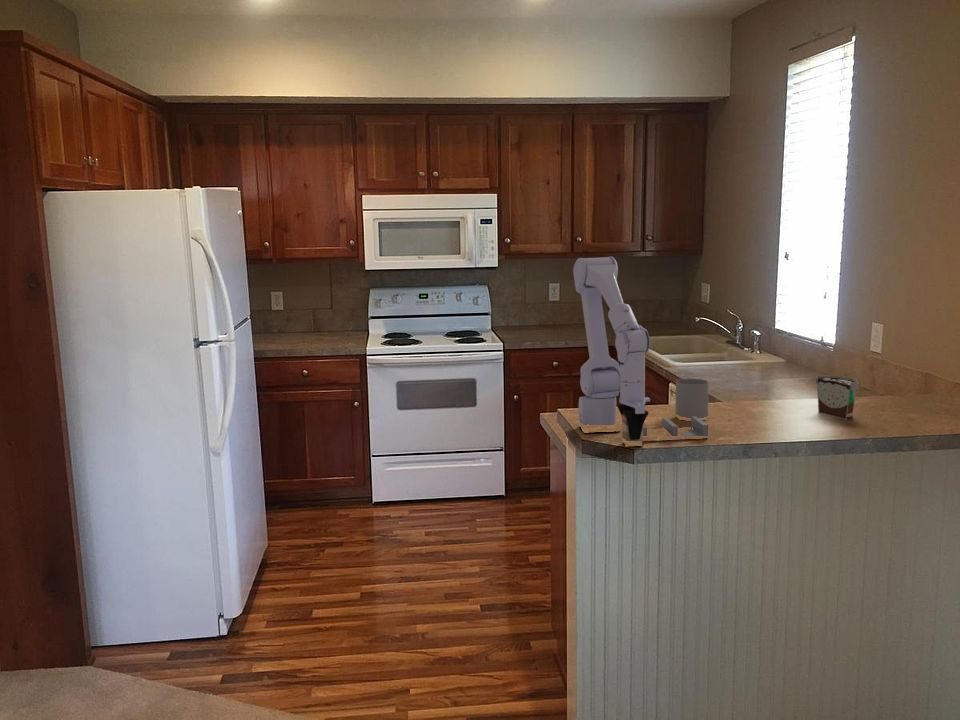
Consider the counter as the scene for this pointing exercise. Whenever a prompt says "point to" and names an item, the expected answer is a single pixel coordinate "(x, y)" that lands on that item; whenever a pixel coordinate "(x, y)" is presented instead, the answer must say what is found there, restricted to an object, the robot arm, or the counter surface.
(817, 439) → the counter surface
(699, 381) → the cup
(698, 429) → the gray i-beam stand
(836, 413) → the food container
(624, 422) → the peg
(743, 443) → the counter surface
